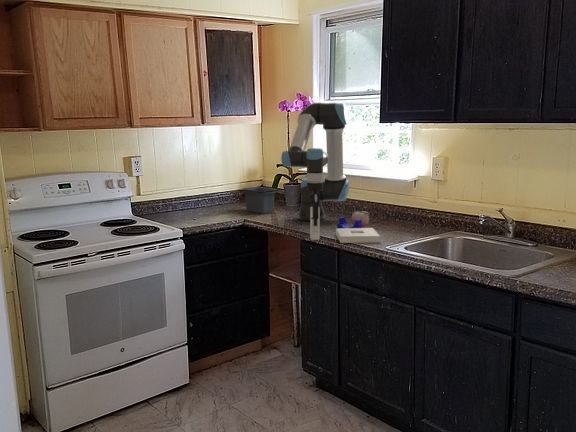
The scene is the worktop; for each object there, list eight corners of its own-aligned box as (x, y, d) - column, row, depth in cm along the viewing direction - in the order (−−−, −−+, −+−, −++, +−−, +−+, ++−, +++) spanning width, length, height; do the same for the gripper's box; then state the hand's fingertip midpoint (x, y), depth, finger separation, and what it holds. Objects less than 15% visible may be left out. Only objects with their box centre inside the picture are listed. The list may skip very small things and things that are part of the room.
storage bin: (240, 211, 339) (239, 187, 336) (260, 208, 349) (259, 185, 346) (261, 215, 323) (261, 191, 320) (282, 212, 333) (281, 188, 330)
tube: (317, 240, 258) (317, 208, 255) (308, 239, 260) (308, 207, 257) (320, 238, 262) (320, 207, 259) (312, 237, 264) (312, 206, 261)
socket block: (336, 234, 270) (336, 228, 269) (372, 234, 270) (372, 227, 270) (340, 242, 252) (340, 236, 252) (379, 242, 253) (379, 235, 252)
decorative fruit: (370, 227, 287) (370, 208, 285) (368, 230, 279) (368, 210, 277) (352, 226, 289) (352, 207, 287) (349, 229, 281) (350, 210, 279)
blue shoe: (337, 229, 283) (337, 217, 282) (342, 228, 286) (342, 216, 285) (355, 232, 274) (355, 221, 273) (361, 231, 277) (361, 219, 276)
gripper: (305, 179, 264) (305, 227, 269) (307, 184, 247) (308, 235, 251) (321, 179, 265) (321, 227, 269) (324, 184, 247) (324, 235, 252)
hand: (314, 231), depth 260 cm, fingers open, 4 cm apart
